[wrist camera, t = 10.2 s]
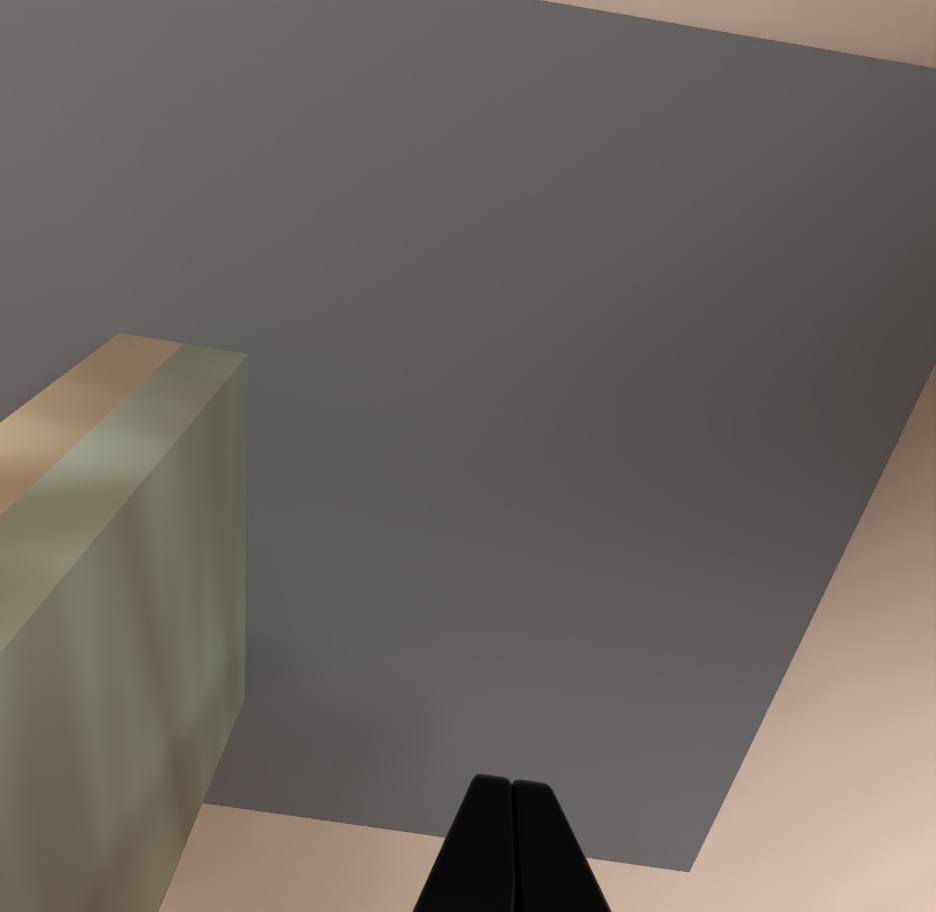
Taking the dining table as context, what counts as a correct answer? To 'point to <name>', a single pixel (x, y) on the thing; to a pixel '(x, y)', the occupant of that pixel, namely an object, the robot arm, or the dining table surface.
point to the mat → (492, 366)
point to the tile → (118, 619)
